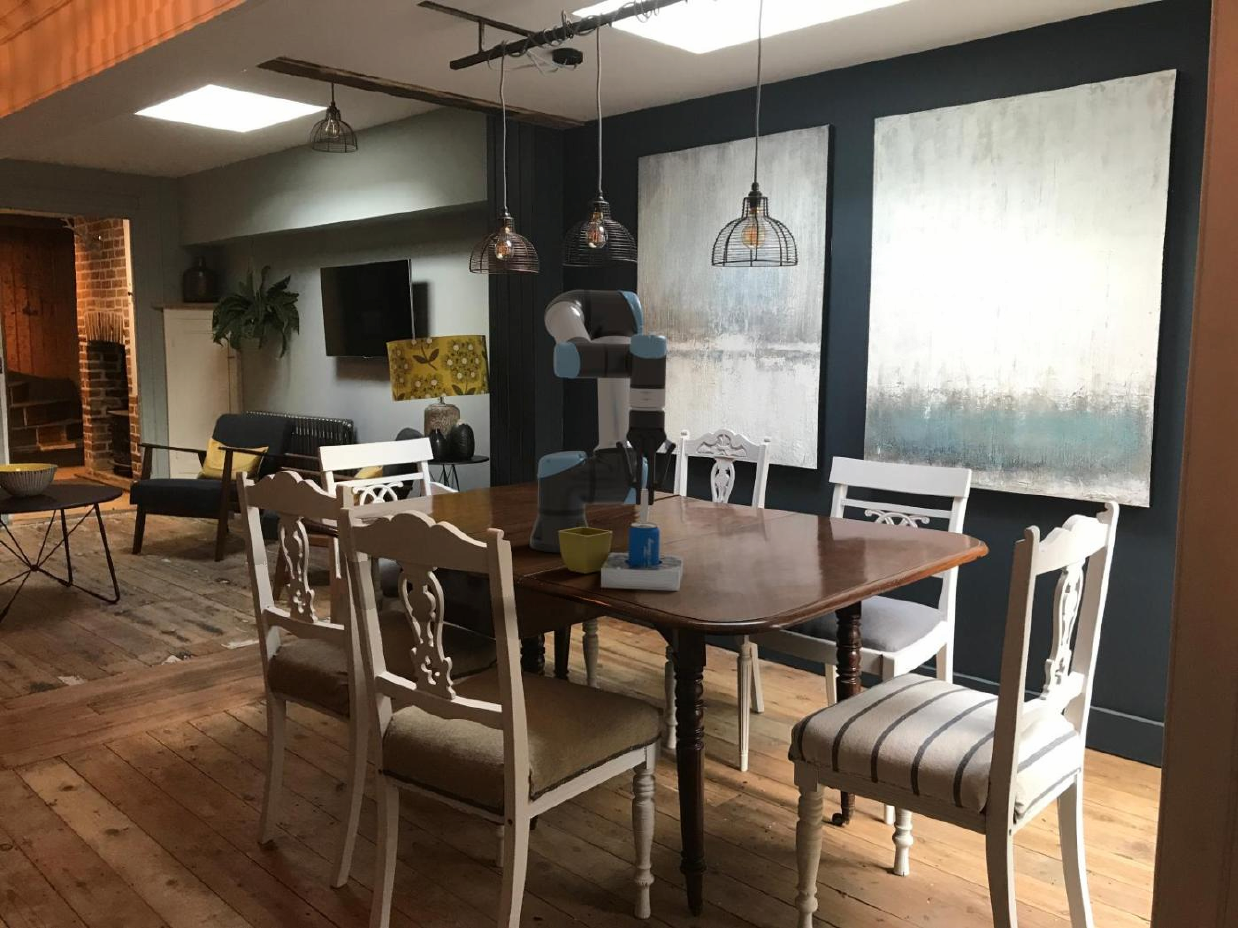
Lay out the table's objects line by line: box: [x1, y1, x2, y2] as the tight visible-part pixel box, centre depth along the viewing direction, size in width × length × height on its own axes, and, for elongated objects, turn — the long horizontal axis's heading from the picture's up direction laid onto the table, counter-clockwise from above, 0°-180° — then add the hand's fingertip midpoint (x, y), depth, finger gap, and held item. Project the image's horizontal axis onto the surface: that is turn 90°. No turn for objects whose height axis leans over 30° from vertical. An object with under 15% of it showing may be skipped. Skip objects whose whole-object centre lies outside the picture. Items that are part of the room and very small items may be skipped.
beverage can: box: [628, 521, 661, 566], centre depth 212 cm, size 6×6×12 cm
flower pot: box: [558, 526, 614, 575], centre depth 220 cm, size 9×9×9 cm
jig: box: [600, 552, 684, 592], centre depth 212 cm, size 16×16×4 cm
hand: (644, 520), depth 211 cm, fingers closed
